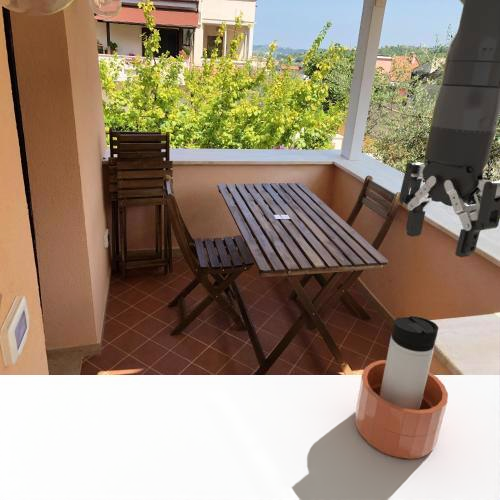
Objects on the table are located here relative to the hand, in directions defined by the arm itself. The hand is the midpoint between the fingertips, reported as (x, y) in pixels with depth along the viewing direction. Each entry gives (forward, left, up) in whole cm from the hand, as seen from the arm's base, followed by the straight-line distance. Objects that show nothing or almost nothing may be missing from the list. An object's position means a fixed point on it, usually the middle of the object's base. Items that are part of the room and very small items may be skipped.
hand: (436, 245), depth 60 cm
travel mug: (+1, +1, -32) cm, 32 cm away
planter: (+1, +1, -32) cm, 32 cm away
